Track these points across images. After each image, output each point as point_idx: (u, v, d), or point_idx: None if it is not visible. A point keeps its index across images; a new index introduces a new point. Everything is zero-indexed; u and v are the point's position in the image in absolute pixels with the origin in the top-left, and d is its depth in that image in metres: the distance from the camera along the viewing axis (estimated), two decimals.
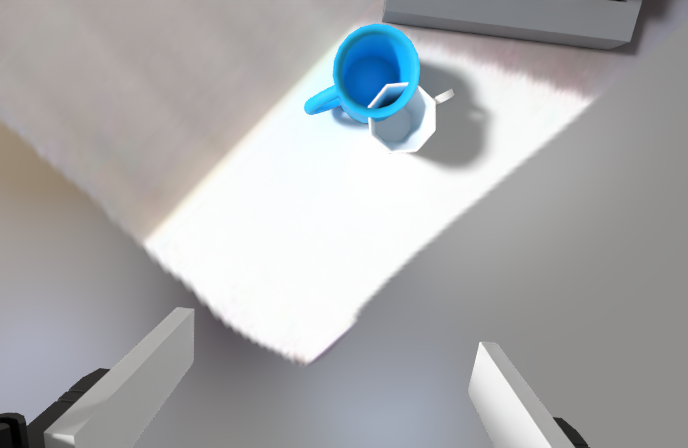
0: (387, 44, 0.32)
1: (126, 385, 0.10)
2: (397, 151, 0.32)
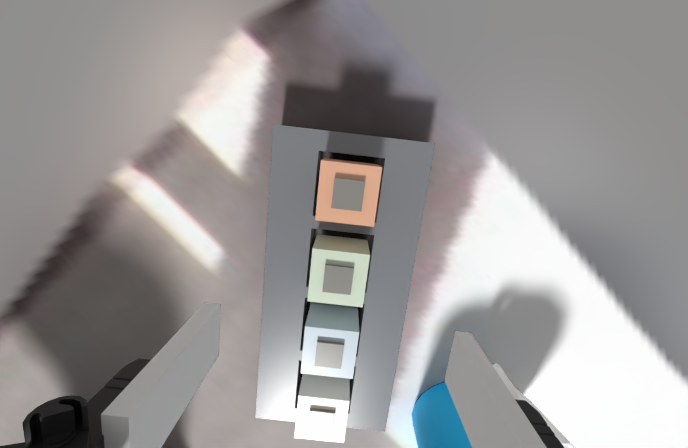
0: None
1: (168, 373, 0.11)
2: None
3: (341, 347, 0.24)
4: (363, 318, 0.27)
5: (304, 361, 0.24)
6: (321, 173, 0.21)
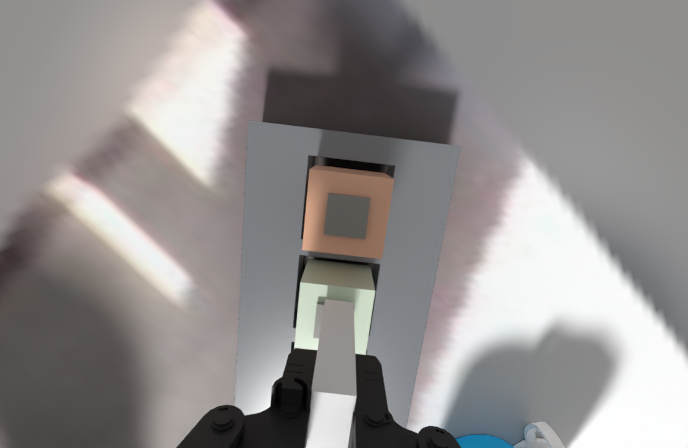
0: None
1: None
2: None
3: None
4: None
5: None
6: (310, 187, 0.15)
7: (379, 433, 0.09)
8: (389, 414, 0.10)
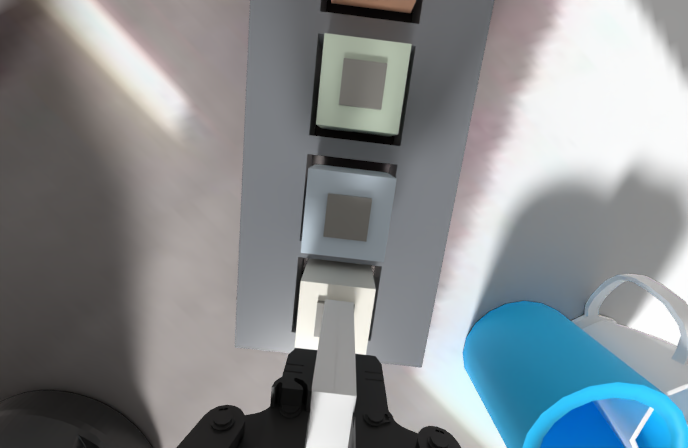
0: None
1: None
2: None
3: (367, 203, 0.15)
4: (395, 188, 0.18)
5: (306, 231, 0.15)
6: None
7: (379, 433, 0.09)
8: (389, 414, 0.10)
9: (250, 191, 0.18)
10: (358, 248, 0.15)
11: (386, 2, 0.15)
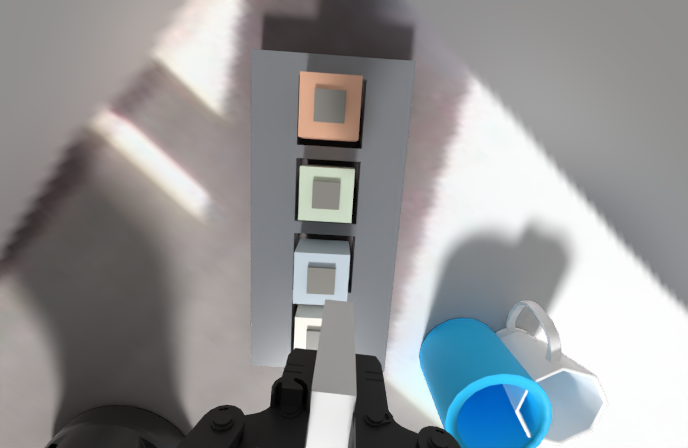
0: None
1: None
2: (595, 423, 0.25)
3: (332, 272, 0.23)
4: (355, 251, 0.27)
5: (295, 290, 0.24)
6: (301, 85, 0.21)
7: (379, 433, 0.09)
8: (389, 414, 0.10)
9: (256, 259, 0.27)
10: (329, 298, 0.24)
11: (338, 140, 0.24)
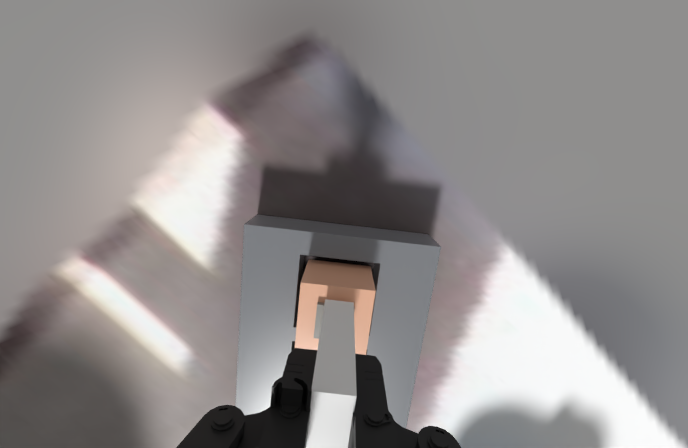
0: None
1: None
2: None
3: None
4: None
5: None
6: (301, 297, 0.17)
7: (379, 433, 0.09)
8: (389, 414, 0.10)
9: None
10: None
11: None
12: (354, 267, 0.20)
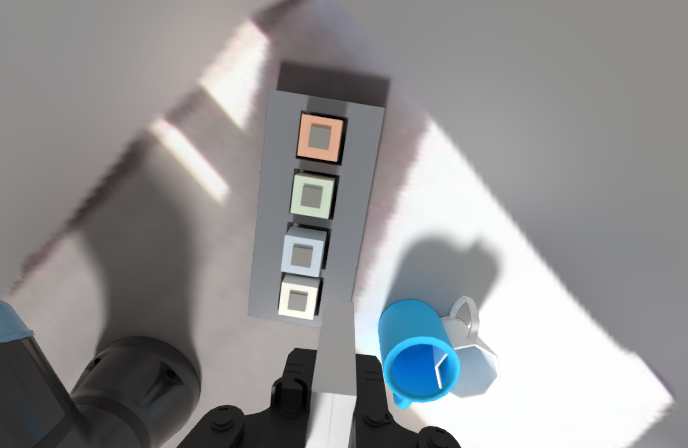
0: None
1: None
2: (488, 389, 0.35)
3: (310, 251, 0.33)
4: (330, 240, 0.37)
5: (283, 262, 0.34)
6: (302, 123, 0.32)
7: (379, 433, 0.09)
8: (389, 414, 0.10)
9: (259, 237, 0.37)
10: (306, 270, 0.34)
11: None
12: None
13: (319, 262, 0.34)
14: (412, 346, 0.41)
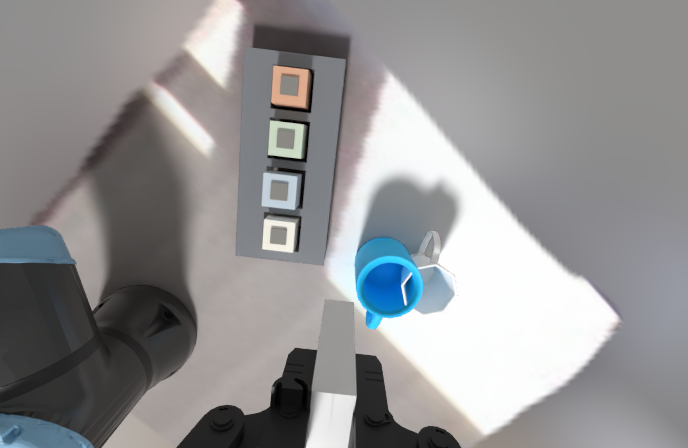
0: None
1: None
2: (447, 307, 0.40)
3: (286, 186, 0.38)
4: (305, 181, 0.42)
5: (263, 197, 0.39)
6: (274, 73, 0.37)
7: (379, 433, 0.09)
8: (389, 414, 0.10)
9: (242, 182, 0.42)
10: (284, 204, 0.39)
11: (297, 108, 0.41)
12: None
13: (294, 196, 0.39)
14: (384, 279, 0.47)
